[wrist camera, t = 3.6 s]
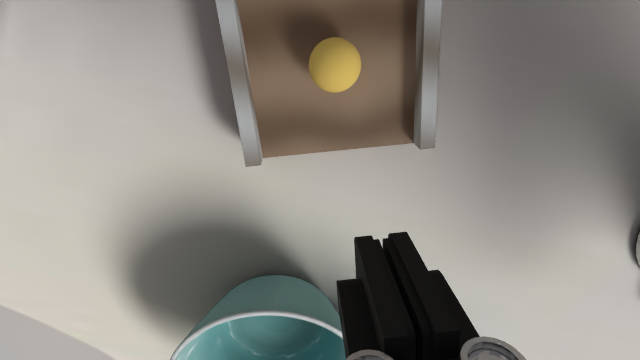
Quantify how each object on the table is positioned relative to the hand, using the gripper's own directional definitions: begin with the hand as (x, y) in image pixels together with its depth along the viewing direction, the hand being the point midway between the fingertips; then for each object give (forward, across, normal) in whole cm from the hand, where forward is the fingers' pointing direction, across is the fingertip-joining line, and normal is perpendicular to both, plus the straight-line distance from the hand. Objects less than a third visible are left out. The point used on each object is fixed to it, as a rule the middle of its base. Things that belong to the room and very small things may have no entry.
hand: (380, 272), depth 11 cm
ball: (+13, 0, -5) cm, 14 cm away
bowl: (+17, +7, +18) cm, 26 cm away
